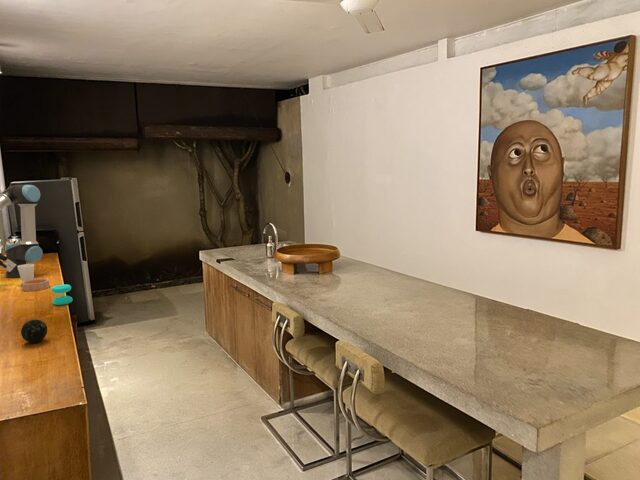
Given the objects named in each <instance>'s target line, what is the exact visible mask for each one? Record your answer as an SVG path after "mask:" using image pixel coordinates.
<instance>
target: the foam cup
mask: <svg viewBox="0 0 640 480" xmlns="http://www.w3.org/2000/svg"><path fill="white" fill-rule="evenodd" d="M18 270H19V274H20V277H19V278H20V282H21V283H22V282H24V281H28V280H33V279H35V264H34V263H27V264H25V265H19V266H18Z"/></svg>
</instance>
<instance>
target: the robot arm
mask: <svg viewBox="0 0 640 480" xmlns="http://www.w3.org/2000/svg"><path fill="white" fill-rule="evenodd" d="M40 198H41V192H40V189H39V188H38V187H37V186H35V185H33V184H15V185H12V186H10V187H8V188H6V189H4V190H3V191H2V192H1V193H0V211H1V210H3V209H4V208H5V207H7V206H11V205H12V204H14V203H17V205H18V206H19V207H20V208H19V209H20V228H21V229H20V230H21V242H20V243H19V242H18V243H14V244H7V245H6V246H5V255H4V254H2V253H0V267H2V269H5V271H6V272H5V278H6V279H7V278H8V279H15V278H16V279H17V278H20V274H19V270H18V266H19V265H25V264H34V263H37V262H39V261H40V260H41V259H42V257H43V255H44V254H43V253H44V252H43V249H42V248H41V247H40V245H39V242H38V241H37V234H36V233H37V231H36V211H35V210H36V209H35V207H36V206H37V205H38V201H40Z"/></svg>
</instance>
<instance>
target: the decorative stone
mask: <svg viewBox="0 0 640 480" xmlns="http://www.w3.org/2000/svg"><path fill="white" fill-rule="evenodd" d="M47 334H48V326H47V324H46V323H45V321H43V320H40V319H30V320H27V321H26V322H25V323H24V324H23V325H22V327H21V329H20V335H21V337H22V339H24V341H26V342H28V343H31V344H33V343H34V344H35V343H40V342H41V341H43V340H44V339H45V337H46V336H47Z"/></svg>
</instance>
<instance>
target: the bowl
mask: <svg viewBox="0 0 640 480" xmlns="http://www.w3.org/2000/svg"><path fill="white" fill-rule="evenodd" d="M49 288H50V278H49V279H48V278H36V279H35V278H34V279H33V280H28V281H24V282H22V281H21V290H22V292H38V291H42V290H43V291H44V290H46V289H49Z"/></svg>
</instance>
